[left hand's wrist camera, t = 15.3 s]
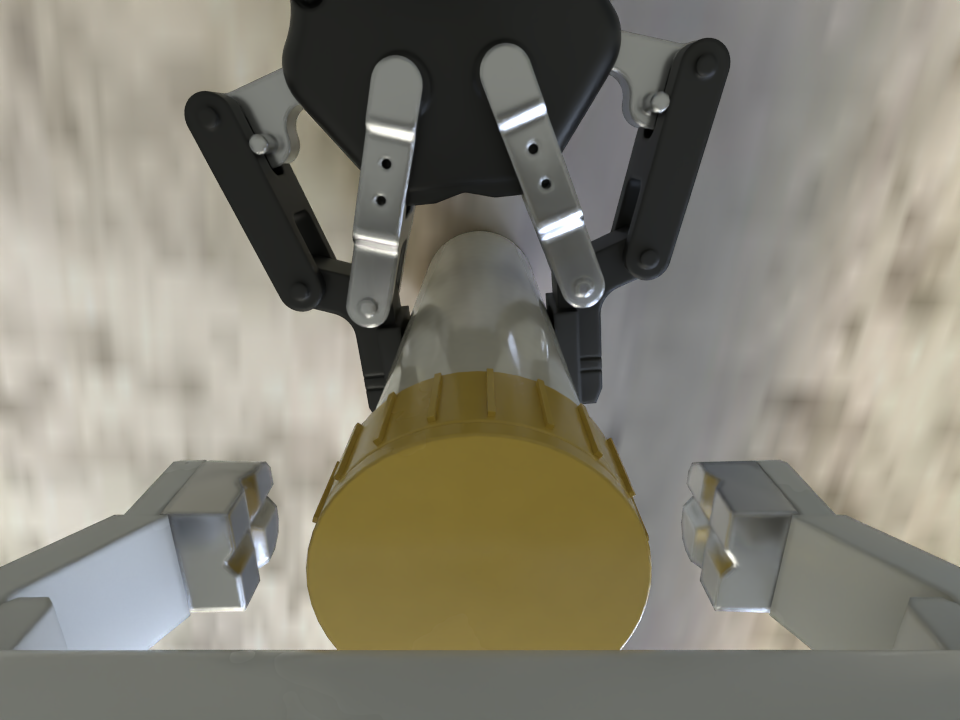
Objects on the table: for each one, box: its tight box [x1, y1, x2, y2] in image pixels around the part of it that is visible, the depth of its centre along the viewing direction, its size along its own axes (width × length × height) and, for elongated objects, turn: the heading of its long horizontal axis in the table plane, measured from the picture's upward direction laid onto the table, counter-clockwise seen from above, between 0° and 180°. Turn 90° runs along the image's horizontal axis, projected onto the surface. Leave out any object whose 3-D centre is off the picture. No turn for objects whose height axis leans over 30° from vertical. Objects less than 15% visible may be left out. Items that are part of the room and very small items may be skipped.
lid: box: [306, 368, 652, 650], centre depth 9 cm, size 5×5×2 cm
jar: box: [376, 231, 580, 409], centre depth 16 cm, size 4×4×17 cm
